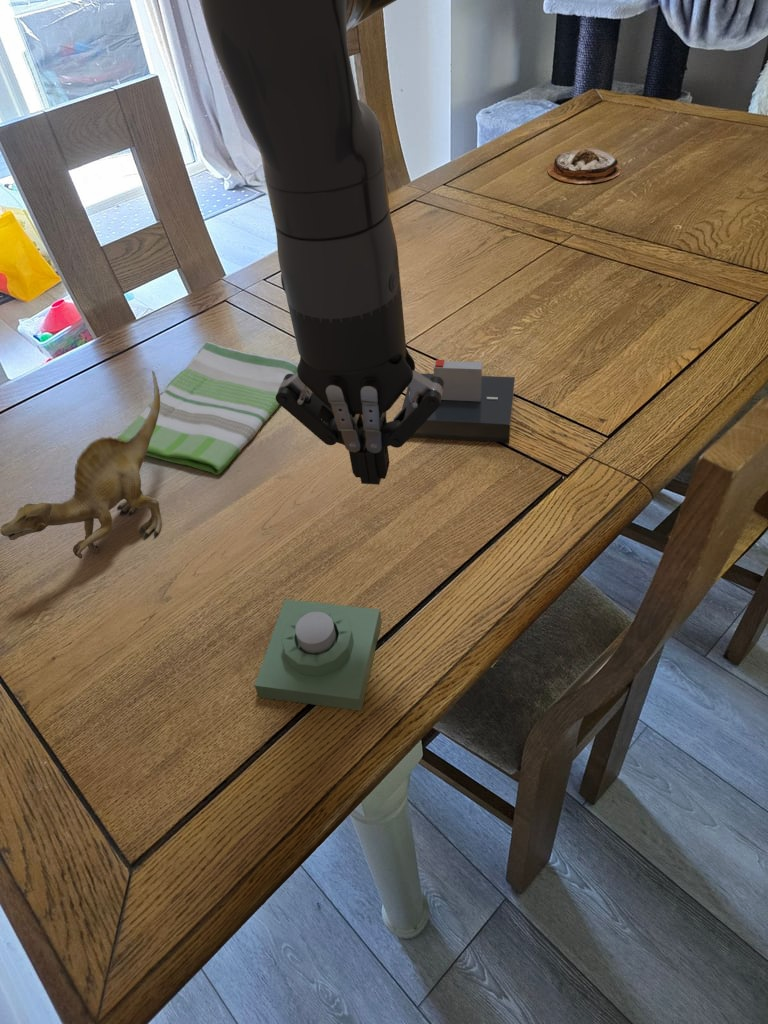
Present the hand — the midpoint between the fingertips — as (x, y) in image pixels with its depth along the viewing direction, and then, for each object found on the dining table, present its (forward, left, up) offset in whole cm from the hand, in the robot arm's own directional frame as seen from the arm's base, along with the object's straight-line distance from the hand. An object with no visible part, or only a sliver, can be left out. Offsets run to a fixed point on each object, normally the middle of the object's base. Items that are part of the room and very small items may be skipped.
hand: (372, 477), depth 58 cm
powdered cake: (-20, -117, -19) cm, 120 cm away
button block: (+6, +6, -19) cm, 21 cm away
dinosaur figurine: (+33, -10, -19) cm, 39 cm away
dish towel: (+31, -31, -19) cm, 48 cm away
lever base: (-3, -33, -19) cm, 38 cm away
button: (+6, +6, -16) cm, 18 cm away
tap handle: (-3, -33, -16) cm, 37 cm away
